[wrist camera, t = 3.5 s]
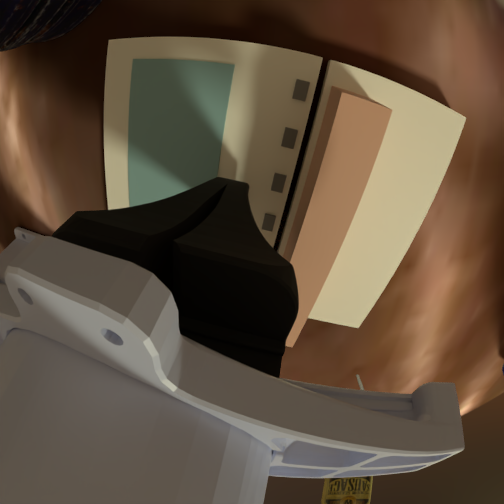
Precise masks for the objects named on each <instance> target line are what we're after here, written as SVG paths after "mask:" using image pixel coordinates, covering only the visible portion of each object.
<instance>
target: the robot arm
mask: <svg viewBox="0 0 504 504" xmlns="http://www.w3.org/2000/svg"><path fill="white" fill-rule="evenodd" d="M249 187H250V186H249V184H248V183H245V182H241V181H236V180H232V179H227V178H222V177H216V178H213V179H211V180H209V181H207V182H204V183H202V184H200V185H198V186H196V187H193V188H191V189H189V190H186V191H184V192H181V193H179V194H176V195H174V196H171V197H168V198H165V199H162V200H158V201H155V202H151V203H146V204H142V205H137V206H132V207H126V208H120V209H111V210H99V211H77V212H76V213H74V214H73V215H72V216H71V217H70V218H69V219H68V220H67V221H66V222H65V223H64V224H63V225H61V226H60V227H59V228H58V229H57V230H56V231H55V232H54V233H53V235H52V237H51V236H43V235H40V234H37V233H34V232H31V231H29V230H26V229H23V228H20V227H16V228H15V229H14V233H15V236H16V239H15V240H14V241H13V242H12V243H11V244H10V245H9V246H8V247H7V248H6V249H5V250H4V251H3V252H2V253H1V254H0V504H263V502H264V496H265V491H266V486H267V480H268V476H278V477H295V478H344V477H362V476H374V475H385V474H393V473H394V474H395V473H404V472H412V471H417V470H419V469H422V468H425V467H427V466H429V465H432V464H434V463H437V462H439V461H441V460H444V459H445V458H448V457H450V456H452V455H454V454H456V453H459V452H460V451H463V449H464V448H465V447H464V437H463V430H462V423H461V415H460V409H459V404H458V398H457V393H456V388H455V384H454V383H443V382H429V383H426V384H423V385H422V386H420V387H419V388H417V389H416V390H415V391H414V392H413V393H412V394H400V393H385V392H374V391H363V390H354V389H346V388H338V387H331V386H324V385H317V384H311V383H305V382H299V381H293V380H288V379H283V378H279V375H280V368H281V360H282V356H283V354H284V352H285V345H286V339H287V337H288V335H289V333H290V331H291V329H292V327H293V325H294V322H295V320H296V318H297V314H298V310H299V295H298V287H297V280H296V276H295V271H294V267H293V265H292V264H291V263H289V262H288V261H287V260H286V259H285V258H283V257H282V256H281V255H280V254H278V253H277V252H276V251H275V250H274V249H273V247H272V246H271V245H270V244H269V243H268V242H267V241H266V239H265V238H264V236H263V235H262V233H261V232H260V230H259V228H258V226H257V224H256V222H255V220H254V217H253V214H252V211H251V208H250V203H249V198H248V193H249Z"/></svg>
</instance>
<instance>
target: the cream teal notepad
mask: <svg viewBox="0 0 504 504" xmlns="http://www.w3.org/2000/svg"><path fill="white" fill-rule="evenodd" d="M322 60H323V57H319V56H315V55H311V54H307V53H303V52H299V51H294V50H290V49H285V48H280V47H274V46H269V45H263V44H257V43H250V42H242V41H234V40H225V39H214V38H198V37H139V38H124V39H113V40H109V42H108V51H107V61H106V74H105V91H104V158H105V177H106V190H107V201H108V210H111V209H120V208H126V207H132V206H137V205H142V204H146V203H151V202H155V201H158V200H162V199H165V198H168V197H171V196H174V195H176V194H179V193H181V192H184V191H186V190H189V189H191V188H193V187H196V186H198V185H200V184H202V183H204V182H207V181H209V180H211V179H213V178H216V177H222V178H227V179H232V180H236V181H241V182H245V183H248V184H249V186H250V187H249V193H248V198H249V203H250V208H251V211H252V214H253V217H254V220H255V222H256V224H257V226H258V228H259V230H260V232H261V233H262V235H263V236H264V238H265V239H266V241H267V242H268V243H269V244H270V245H271V246H272V247H274V243H275V240H276V236H277V232H278V229H279V225H280V222H281V218H282V214H283V211H284V207H285V203H286V200H287V196H288V192H289V189H290V185H291V181H292V177H293V174H294V170H295V166H296V162H297V159H298V155H299V151H300V147H301V143H302V139H303V136H304V132H305V128H306V124H307V120H308V116H309V112H310V108H311V104H312V100H313V96H314V92H315V88H316V84H317V80H318V76H319V72H320V68H321V64H322Z"/></svg>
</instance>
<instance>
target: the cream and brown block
mask: <svg viewBox="0 0 504 504" xmlns="http://www.w3.org/2000/svg"><path fill="white" fill-rule="evenodd" d="M465 120H466V117H464V116H462V115H460V114H459V113H457V112H455V111H453V110H452V109H450V108H448V107H446V106H444V105H442V104H441V103H439V102H437V101H435V100H433V99H431V98H429V97H427V96H425V95H423V94H421V93H419V92H416V91H414V90H412V89H410V88H408V87H405V86H403V85H401V84H398V83H396V82H394V81H391V80H389V79H386V78H384V77H381V76H379V75H376V74H373V73H370V72H368V71H365V70H362V69H359V68H356V67H353V66H350V65H347V64H344V63H341V62H337V61H334V60H329V61H328V65H327V69H326V73H325V77H324V81H323V85H322V89H321V93H320V97H319V101H318V105H317V109H316V112H315V116H314V120H313V124H312V128H311V131H310V135H309V139H308V143H307V146H306V150H305V154H304V158H303V161H302V165H301V169H300V172H299V176H298V179H297V183H296V187H295V190H294V194H293V197H292V201H291V204H290V208H289V212H288V215H287V219H286V222H285V226H284V229H283V232H282V236H281V239H280V243H279V246H278V250H277V253H278V254H280V255H281V256H282V257H283V258H285V259H286V260H287V261H288V262H289V263H291V264H292V265H293V267H294V271H295V276H296V280H297V287H298V295H299V310H298V314H297V318H296V320H295V322H294V325H293V327H292V329H291V331H290V333H289V335H288V337H287V339H286V345H285V346H288V347H293V345H294V343H295V341H296V339H297V337H298V336H299V334H300V332H301V330H302V328H303V326H304V324H305V322H306V320H307V318H311V319H316V320H321V321H325V322H330V323H335V324H340V325H345V326H350V327H355V328H359V326H360V325H361V323H362V322H363V321H364V319H365V318H366V316H367V315H368V313H369V312H370V310H371V309H372V307H373V306H374V304H375V303H376V301H377V300H378V298H379V297H380V295H381V293H382V292H383V290H384V289H385V287H386V285H387V284H388V282H389V281H390V279H391V277H392V276H393V274H394V272H395V271H396V269H397V267H398V266H399V264H400V262H401V260H402V259H403V257H404V255H405V253H406V252H407V250H408V248H409V246H410V244H411V243H412V241H413V239H414V237H415V235H416V233H417V231H418V230H419V228H420V226H421V224H422V222H423V220H424V218H425V216H426V214H427V212H428V210H429V208H430V206H431V204H432V202H433V199H434V197H435V195H436V193H437V191H438V189H439V186H440V184H441V182H442V180H443V177H444V175H445V173H446V170H447V168H448V166H449V163H450V161H451V158H452V156H453V153H454V151H455V148H456V145H457V143H458V140H459V137H460V134H461V132H462V129H463V126H464V123H465Z"/></svg>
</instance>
